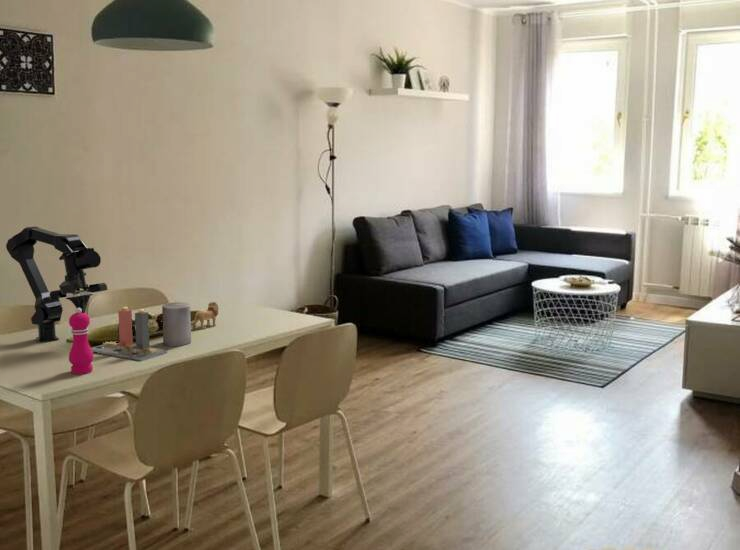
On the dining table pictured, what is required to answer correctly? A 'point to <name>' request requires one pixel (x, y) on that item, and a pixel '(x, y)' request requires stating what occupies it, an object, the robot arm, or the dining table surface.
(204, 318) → the lion figurine
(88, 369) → the pepper mill
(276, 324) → the dining table surface
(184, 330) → the pillar candle
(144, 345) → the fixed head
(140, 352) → the bolt plate
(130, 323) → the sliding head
